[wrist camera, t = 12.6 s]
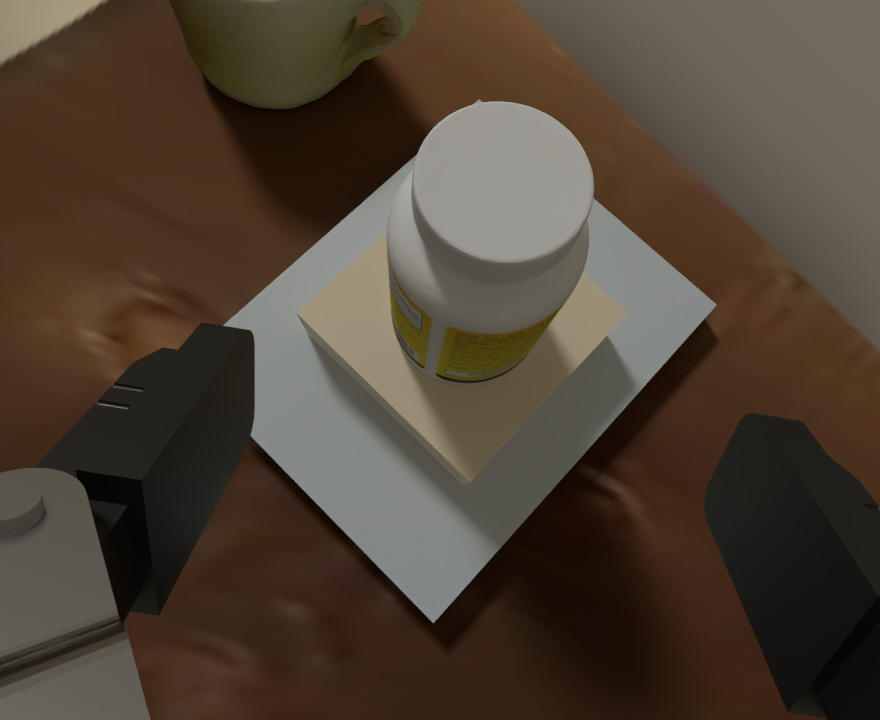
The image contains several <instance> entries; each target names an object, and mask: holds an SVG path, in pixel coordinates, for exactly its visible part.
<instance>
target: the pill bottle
mask: <svg viewBox="0 0 880 720" xmlns="http://www.w3.org/2000/svg"><path fill="white" fill-rule="evenodd" d="M593 197H594V180H593V172H592V169H591V165H590V163H589V160H588V158H587V156H586V153H585V151H584V149H583V148H582V146H581V145H580V143H579V142H578V140H577V139H576V138H575V137H574V135H573V134H572V133H571V132H570V131H569V130H568V129H567V128H566V127H564V126H563V125H562V124H561V123H560V122H558V121H557V120H555V119H554V118H552V117H551V116H549V115H548V114H546V113H544V112H541V111H539V110H537V109H534V108H532V107H529V106H526V105H521V104H517V103H511V102H484V103H478V104H474V105H471V106H468V107H465V108H463V109H460V110H458V111H456V112H454V113H452V114H450V115H449V116H447V117H446V118H445V119H443V120H442V121H441V122H439V123H438V124H437V125H436V126H435V127H434V128H433V129H432V130H431V132H430V133H429V134H428V135H427V137H426V138H425V140H424V141H423V143H422V145H421V147H420V149H419V151H418V154H417V156H416V160H415V163H414V168H413V171H412V172H411V173H410V174H409V175H408V176H407V178H406V179H405V180H404V182H403V183H402V185H401V186H400V188H399V190H398V191H397V193H396V195H395V198H394V200H393V202H392V205H391V208H390V212H389V217H388V222H387V234H386V245H387V257H388V271H389V287H390V304H391V316H392V323H393V328H394V332H395V335H396V338H397V340H398V342H399V344H400V346H401V348H402V350H403V351H404V353H405V354H406V355H407V357H408V358H409V359H410V360H411V361H412V362H413V363H414V365H416V366H417V367H418V368H419V369H420V370H422V371H423V372H425V373H426V374H428V375H430V376H431V377H433V378H435V379H438V380H440V381H443V382H446V383H450V384H456V385H478V384H484V383H487V382H491V381H493V380H496V379H498V378H500V377H502V376H504V375H506V374H507V373H509V372H510V371H512V370H513V369H514V368H515V367H517V366H518V365H519V364H520V363H521V362H522V360H523V359H524V358H525V357H526V356H527V355H528V354H529V352H530V351H531V349H532V348H533V347H534V345H535V344H536V342H537V341H538V340H539V338H540V337H541V335H542V334H543V333H544V331H545V330H546V328H547V327H548V326H549V324H550V323H551V322H552V320H553V319H554V317H555V316H556V315H557V313H558V312H559V311H560V309H561V308H562V307H563V305H564V304H565V302H566V301H567V299H568V298H569V297H570V295H571V294H572V292H573V291H574V289H575V287H576V285H577V284H578V282H579V280H580V277H581V275H582V273H583V270H584V267H585V264H586V261H587V255H588V249H589V228H588V222H587V219H588V217H589V214H590V211H591V207H592V203H593Z"/></svg>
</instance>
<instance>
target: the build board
mask: <svg viewBox="0 0 880 720" xmlns="http://www.w3.org/2000/svg"><path fill="white" fill-rule="evenodd" d="M478 103H483V102H482V101H481V100H478V101H477V102H476V103H474V104H478ZM474 104H473V105H474ZM416 156H417V155H416ZM416 156H414V157H413V158H412V159H411V160H410V161H409V162H408V163H407V164H405V165H404V166H403V167H402V168H401V169H400V170H399V171H397V172H396V173H395V174H394V175H393V176H392V177H391V178H390V179H388V180H387V181H386V182H385V183H384V184H383V185H382V186H381V187H379V188H378V189H377V190H376V191H375V192H374V193H373V194H371V195H370V196H369V197H368V198H367V199H366V200H365V201H364V202H362V203H361V204H360V205H359V206H358V207H357V208H356V209H354V210H353V211H352V212H351V213H350V214H349V215H348V216H347V217H345V218H344V219H343V220H342V221H341V222H340V223H339V224H338V225H336V226H335V227H334V228H333V229H332V230H331V231H330V232H328V233H327V234H326V235H325V236H324V237H323V238H322V239H321V240H319V241H318V242H317V243H316V244H315V245H314V246H313V247H312V248H310V249H309V250H308V251H307V252H306V253H305V254H304V255H302V256H301V257H300V258H299V259H298V260H297V261H296V262H295V263H293V264H292V265H291V266H290V267H289V268H288V269H287V270H285V271H284V272H283V273H282V274H281V275H280V276H279V277H278V278H276V279H275V280H274V281H273V282H272V283H271V284H270V285H269V286H267V287H266V288H265V289H264V290H263V291H262V292H261V293H259V294H258V295H257V296H256V297H255V298H254V299H253V300H252V301H250V302H249V303H248V304H247V305H246V306H245V307H244V308H243V309H241V310H240V311H239V312H238V313H237V314H236V315H235V316H233V317H232V318H231V319H230V320H229V321H228V322H227V323H226V324H224V325H223V326H228V327H234V328H240V329H247V330H251V331H252V333H253V336H254V342H255V413H254V422H253V427H252V432H251V435H250V436H251V437H252V438H253V439H254V440H255V441H256V442H257V443H258V444H259V445H260V446H261V447H262V448H263V449H264V450H265V451H266V452H267V453H268V454H269V455H270V456H271V457H272V458H273V459H274V460H275V461H276V463H277V464H278V465H279V466H280V467H281V468H282V469H283V470H284V471H285V472H286V473H287V474H288V475H289V476H290V477H291V478H292V479H293V480H294V481H295V482H296V483H297V484H298V485H299V486H300V487H301V488H302V489H303V490H304V491H305V492H306V493H307V494H308V495H309V496H310V497H311V498H312V499H313V500H314V501H315V502H316V504H317V505H318V506H319V507H320V508H321V509H322V510H323V511H324V512H325V513H326V514H327V515H328V516H329V517H330V518H331V519H332V520H333V521H334V522H335V523H336V524H337V525H338V526H339V527H340V528H341V529H342V530H343V531H344V532H345V533H346V534H347V535H348V536H349V537H350V538H351V539H352V540H353V541H354V542H355V544H356V545H357V546H358V547H359V548H360V549H361V550H362V551H363V552H364V553H365V554H366V555H367V556H368V557H369V558H370V559H371V560H372V561H373V562H374V563H375V564H376V565H377V566H378V567H379V568H380V569H381V570H382V571H383V572H384V573H385V574H386V575H387V576H388V577H389V578H390V579H391V580H392V581H393V582H394V583H395V585H396V586H397V587H398V588H399V589H400V590H401V591H402V592H403V593H404V594H405V595H406V596H407V597H408V598H409V599H410V600H411V601H412V602H413V603H414V604H415V605H416V606H417V607H418V608H419V609H420V610H421V611H422V612H423V613H424V614H425V615H426V616H427V617H428V618H429V619H430V620H431V621H432V622H433V623H434V622H435V621H436V620H437V619H438V618H439V616H440V615H441V614H442V613H443V612H444V611H445V610H446V609H447V607H448V606H449V605H450V604H451V603H452V602H453V601H454V600H455V599H456V597H457V596H458V595H459V594H460V593H461V592H462V591H463V590H464V588H465V587H466V586H467V585H468V584H469V583H470V582H471V581H472V579H473V578H474V577H475V576H476V575H477V574H478V573H479V572H480V570H481V569H482V568H483V567H484V566H485V565H486V564H487V563H488V561H489V560H490V559H491V558H492V557H493V556H494V555H495V554H496V552H497V551H498V550H499V549H500V548H501V547H502V546H503V545H504V543H505V542H506V541H507V540H508V539H509V538H510V537H511V536H512V534H513V533H514V532H515V531H516V530H517V529H518V528H519V527H520V525H521V524H522V523H523V522H524V521H525V520H526V519H527V518H528V516H529V515H530V514H531V513H532V512H533V511H534V510H535V509H536V507H537V506H538V505H539V504H540V503H541V502H542V501H543V500H544V498H545V497H546V496H547V495H548V494H549V493H550V492H551V491H552V489H553V488H554V487H555V486H556V485H557V484H558V483H559V482H560V480H561V479H562V478H563V477H564V476H565V475H566V474H567V473H568V471H569V470H570V469H571V468H572V467H573V466H574V465H575V464H576V463H577V461H578V460H579V459H580V458H581V457H582V456H583V455H584V454H585V452H586V451H587V450H588V449H589V448H590V447H591V446H592V445H593V443H594V442H595V441H596V440H597V439H598V438H599V437H600V436H601V434H602V433H603V432H604V431H605V430H606V429H607V428H608V427H609V425H610V424H611V423H612V422H613V421H614V420H615V419H616V418H617V416H618V415H619V414H620V413H621V412H622V411H623V410H624V409H625V407H626V406H627V405H628V404H629V403H630V402H631V401H632V400H633V398H634V397H635V396H636V395H637V394H638V393H639V392H640V391H641V389H642V388H643V387H644V386H645V385H646V384H647V383H648V382H649V380H650V379H651V378H652V377H653V376H654V375H655V374H656V373H657V371H658V370H659V369H660V368H661V367H662V366H663V365H664V364H665V362H666V361H667V360H668V359H669V358H670V357H671V356H672V355H673V353H674V352H675V351H676V350H677V349H678V348H679V347H680V346H681V344H682V343H683V342H684V341H685V340H686V339H687V338H688V337H689V336H690V334H691V333H692V332H693V331H694V330H695V329H696V328H697V327H698V325H699V324H700V323H701V322H702V321H703V320H704V319H705V318H706V316H707V315H708V314H709V313H710V312H711V311H712V310H713V309H714V307H715V306H716V304H715V303H714V302H713V301H712V300H711V299H709V298H708V297H707V296H706V295H705V294H704V293H702V292H701V291H700V290H699V289H698V288H697V287H696V286H694V285H693V284H692V283H691V282H690V281H689V280H687V279H686V278H685V277H684V276H683V275H682V274H680V273H679V272H678V271H677V270H676V269H675V268H674V267H672V266H671V265H670V264H669V263H668V262H667V261H665V260H664V259H663V258H662V257H661V256H660V255H659V254H657V253H656V252H655V251H654V250H653V249H652V248H650V247H649V246H648V245H647V244H646V243H645V242H643V241H642V240H641V239H640V238H639V237H638V236H637V235H635V234H634V233H633V232H632V231H631V230H630V229H628V228H627V227H626V226H625V225H624V224H623V223H622V222H620V221H619V220H618V219H617V218H616V217H615V216H613V215H612V214H611V213H610V212H609V211H608V210H607V209H605V208H604V207H603V206H602V205H601V204H600V203H598V202H597V201H596V200H595V199H594V198H593V203H592V207H591V211H590V214H589V217H588V219H587V222H588V228H589V249H588V255H587V261H586V264H585V267H584V270H583V273H582V275H581V277H580V280H579V282H578V284H577V285H576V287H575V289H574V291H573V292H572V294H571V295H570V297H569V298H568V299H567V301H566V302H565V304H564V305H563V307H562V308H561V309H560V311H559V312H558V313H557V315H556V316H555V317H554V319H553V320H552V322H551V323H550V324H549V326H548V327H547V328H546V330H545V331H544V333H543V334H542V335H541V337H540V338H539V340H538V341H537V342H536V344H535V345H534V347H533V348H532V349H531V351H530V352H529V354H528V355H527V356H526V357H525V358H524V359H523V360H522V362H521V363H520V364H519V365H518V366H517V367H515V368H514V369H513V370H512V371H510V372H509V373H507V374H506V375H504V376H502V377H500V378H498V379H496V380H493V381H491V382H487V383H484V384H478V385H456V384H450V383H446V382H443V381H440V380H438V379H435V378H433V377H431V376H430V375H428V374H426V373H425V372H423V371H422V370H420V369H419V368H418V367H417V366H416V365H414V363H413V362H412V361H411V360H410V359H409V358H408V357H407V355H406V354H405V353H404V351H403V350H402V348H401V346H400V344H399V342H398V340H397V338H396V335H395V332H394V328H393V323H392V316H391V304H390V287H389V271H388V257H387V245H386V234H387V222H388V217H389V212H390V208H391V205H392V202H393V200H394V198H395V195H396V193H397V191H398V190H399V188H400V186H401V185H402V183H403V182H404V180H405V179H406V178H407V176H408V175H409V174H410V173H411V172H412V171H413V168H414V163H415V160H416Z"/></svg>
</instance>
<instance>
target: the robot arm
mask: <svg viewBox="0 0 880 720" xmlns="http://www.w3.org/2000/svg"><path fill="white" fill-rule="evenodd" d="M254 413H255V342H254V336H253V333H252V331H251V330H247V329H240V328H234V327H228V326H222V325H216V324H210V323H202V324H200V325H199V326H198V327H197V328H196V329H195V331H194V332H193V333H192V334H191V335H190V336H189V338H188V339H187V340H186V341H185V342H184V343H183V345H182V346H181V347H180V348H179V349H178V350H175V349H169V348H161V349H159V350H157V351H155V352H154V353H152V354H150V355H148V356H146V357H144V358H142V359H140V360H138V361H136V362H134V363H133V364H132V365H131V366H130V367H129V368H128V369H127V370H126V371H125V372H124V373H123V374H122V375H121V376H120V378H119V379H118V380H117V381H116V382H115V384H114V387H110V388H109V389H108V390H107V391H106V392H105V393H104V394H103V395H102V397H101V398H100V399H99V400H98V404H97V405H96V404H94V405H93V406H92V407H91V408H90V409H89V410H88V411H87V412H86V413H85V415H84V416H83V417H82V418H81V419H80V420H79V421H78V422H77V423H76V424H75V425H74V426H73V427H72V428H71V429H70V430H69V431H68V433H67V434H66V435H65V436H64V437H63V438H62V439H61V440H60V441H59V442H58V443H57V444H56V445H55V446H54V447H53V448H52V449H51V451H50V452H49V453H48V454H47V455H46V456H45V457H44V458H43V459H42V460H41V461H40V462H39V463H38V464H37V465H36V466H35V467H34V468H25V469H17V470H12V471H7V472H3V473H0V720H150V716H149V713H148V709H147V705H146V702H145V698H144V694H143V690H142V687H141V683H140V679H139V675H138V672H137V668H136V664H135V660H134V657H133V653H132V649H131V646H130V642H129V638H128V635H127V631H126V628H125V625H124V623H123V622H124V620H125V618H126V616H127V615H128V613H129V611H133V612H140V613H146V614H153V615H159V614H160V612H161V610H162V608H163V606H164V604H165V602H166V600H167V598H168V596H169V594H170V593H171V591H172V589H173V587H174V585H175V583H176V581H177V579H178V577H179V575H180V573H181V571H182V569H183V568H184V566H185V564H186V562H187V560H188V558H189V556H190V554H191V552H192V550H193V548H194V546H195V545H196V543H197V541H198V539H199V537H200V535H201V533H202V531H203V529H204V527H205V525H206V523H207V522H208V520H209V518H210V516H211V514H212V512H213V510H214V508H215V506H216V504H217V502H218V500H219V499H220V497H221V495H222V493H223V491H224V489H225V487H226V485H227V483H228V481H229V479H230V477H231V476H232V474H233V472H234V470H235V468H236V466H237V464H238V462H239V460H240V458H241V456H242V454H243V452H244V451H245V449H246V446H247V444H248V442H249V439H250V435H251V432H252V427H253V422H254ZM705 515H706V519H707V522H708V525H709V527H710V529H711V532H712V534H713V537H714V539H715V541H716V544H717V546H718V548H719V551H720V553H721V555H722V558H723V560H724V563H725V565H726V567H727V570H728V572H729V574H730V577H731V579H732V581H733V584H734V586H735V589H736V591H737V593H738V596H739V598H740V600H741V603H742V605H743V607H744V610H745V612H746V615H747V617H748V619H749V622H750V624H751V626H752V629H753V631H754V633H755V636H756V638H757V641H758V643H759V645H760V648H761V650H762V652H763V655H764V657H765V659H766V662H767V664H768V667H769V669H770V671H771V674H772V676H773V678H774V681H775V683H776V685H777V688H778V690H779V693H780V695H781V697H782V700H783V702H784V704H785V707H786V709H787V711H788V712H789V713H796V714H803V715H809V716H816V717H823V718H827V719H828V720H880V511H878V505H877V503H876V502H875V501H874V500H873V498H872V497H871V496H870V494H869V493H868V492H867V490H866V489H865V488H864V487H863V485H862V484H861V483H860V481H859V480H858V479H856V478H855V477H854V476H853V475H852V474H850V473H849V472H848V471H847V470H845V469H844V468H843V467H842V466H840V465H839V464H838V463H837V462H836V461H834V460H833V459H832V458H831V457H829V456H828V455H827V454H826V452H825V451H824V450H823V448H822V447H821V446H820V444H819V443H818V442H817V440H816V439H815V438H814V436H813V435H812V434H811V432H810V431H809V430H808V428H807V427H806V426H805V425H804V424H803V423H802V422H801V421H798V420H793V419H787V418H781V417H775V416H769V415H763V414H756V413H749V414H747V415H745V416H744V417H743V418H742V419H741V421H740V422H739V424H738V425H737V427H736V429H735V431H734V433H733V435H732V437H731V439H730V441H729V443H728V445H727V447H726V449H725V451H724V453H723V455H722V457H721V459H720V461H719V463H718V465H717V467H716V469H715V471H714V473H713V475H712V477H711V479H710V482H709V484H708V487H707V490H706V494H705Z"/></svg>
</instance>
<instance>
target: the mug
mask: <svg viewBox="0 0 880 720" xmlns="http://www.w3.org/2000/svg"><path fill="white" fill-rule="evenodd" d="M169 1H170V3H171V6H172V8H173V10H174V13H175V15H176V17H177V20H178V22H179V24H180V27H181V30H182V33H183V36H184V39H185V42H186V46H187V49H188V52H189V54H190V56H191V57H192V59H193V61H194V62H195V64H196V65H197V66H198V68H199V69H200V70H201V72H202V73H203V74H204V75H205V77H206V78H207V79H208V80H209V81H210V82H211V83H212V84H213V85H214V86H215V87H216V88H217V89H218V90H220V91H221V92H222V93H223V94H225V95H226V96H229V97H231V98H233V99H235V100H237V101H239V102H242V103H245V104H248V105H251V106H253V107H260V108H266V109H290V108H295V107H299V106H301V105H304V104H306V103H309V102H311V101H314V100H316V99H319V98H320V97H322V96H324V95H325V94H326V93H328V92H329V91H331V90H332V89H333V88H334V87H336V86H337V85H338V84H339V83H340V82H341V81H342V80H344V79H346V78H347V77H349V76H350V75H351V74H352V73H353V72H354V70H355V68H356V67H357V66H358V65H359V64H360V63H361V62H363V61H364V60H369V59H371V58H373V57H375V56H378V55H380V54H382V53H384V52H385V51H386V50H387V49H389V48H391V47H395V46H396V45H397V44H399V43H400V42H402V41H403V40H404V39H405V38H406V37H407V36H408V34H409V32H410V31H411V29H412V27H413V26H414V25H415V23H416V22H417V20H418V18H419V16H420V13H421V10H422V7H423V3H424V0H169ZM364 10H368V11H378V12H380V13H381V14H383V15H384V16H386V17H383V18H380V19H377V20H376V21H374V22H372V23H370V24H368V25H363V26H362V25H359V24H358V23H357V18H356V15H357V14H358V13H359V12H362V11H364Z"/></svg>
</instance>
